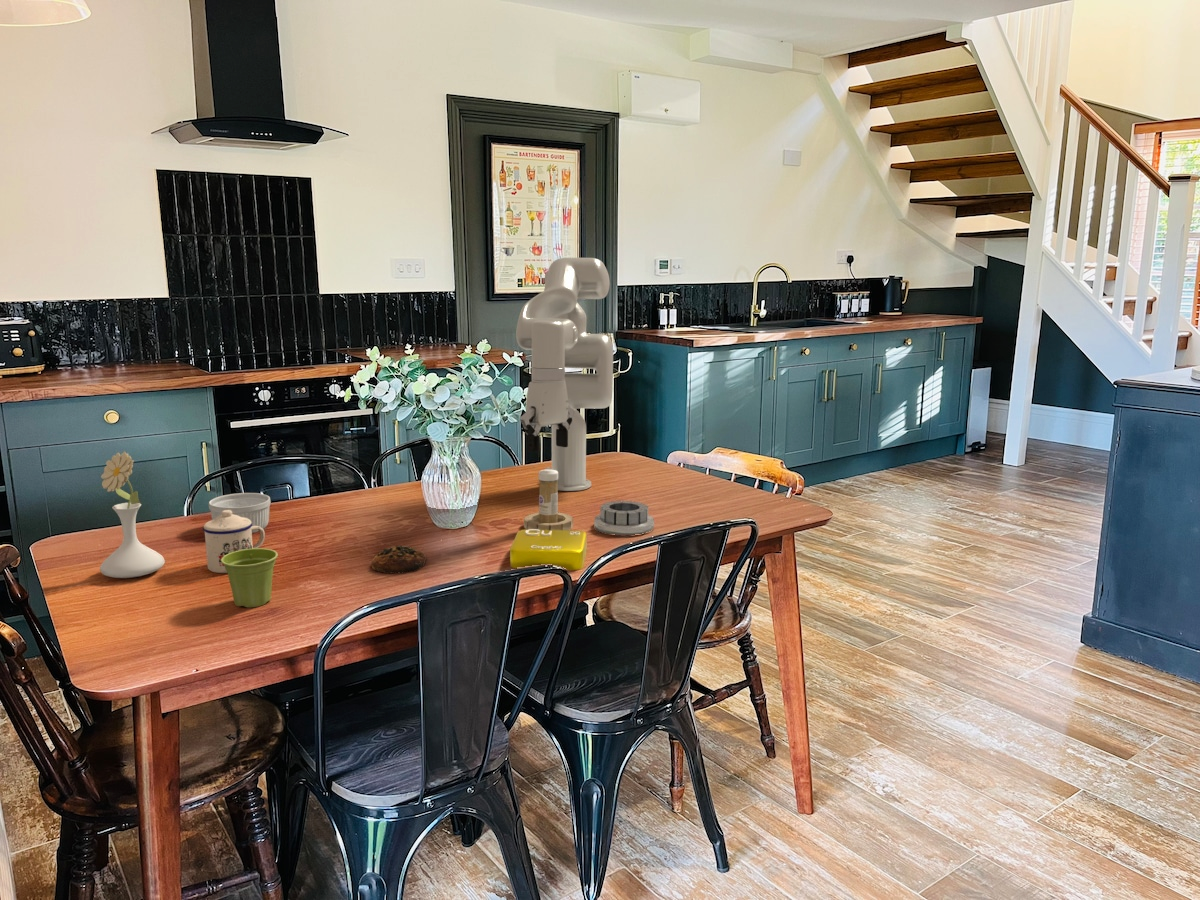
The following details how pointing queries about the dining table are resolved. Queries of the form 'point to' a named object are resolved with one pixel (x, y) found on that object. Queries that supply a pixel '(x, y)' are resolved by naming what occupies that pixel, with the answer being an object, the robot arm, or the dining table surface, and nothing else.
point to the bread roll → (398, 560)
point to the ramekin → (243, 507)
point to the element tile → (549, 548)
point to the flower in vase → (127, 526)
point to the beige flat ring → (533, 523)
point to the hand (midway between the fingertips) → (548, 449)
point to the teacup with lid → (228, 538)
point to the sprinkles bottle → (548, 496)
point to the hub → (623, 518)
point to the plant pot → (250, 575)
